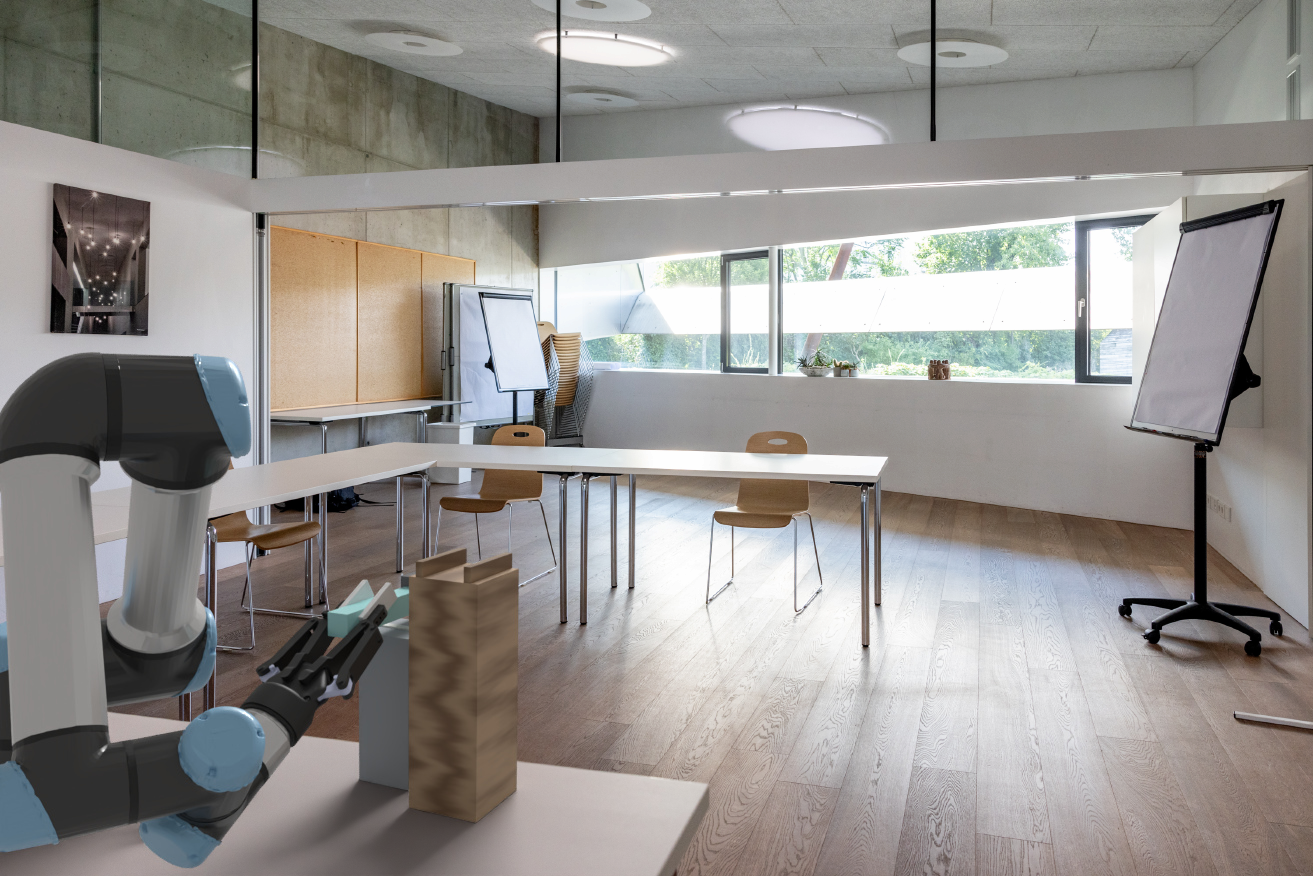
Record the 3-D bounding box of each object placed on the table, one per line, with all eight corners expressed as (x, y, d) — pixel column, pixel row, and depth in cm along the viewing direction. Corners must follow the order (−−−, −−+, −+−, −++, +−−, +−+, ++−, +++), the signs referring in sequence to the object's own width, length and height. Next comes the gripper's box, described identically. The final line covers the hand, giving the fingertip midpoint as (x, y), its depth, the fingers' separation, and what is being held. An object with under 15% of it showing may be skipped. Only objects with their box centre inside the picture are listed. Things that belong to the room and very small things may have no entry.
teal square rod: (323, 635, 117) (323, 600, 116) (419, 600, 135) (419, 570, 135) (352, 639, 115) (351, 604, 115) (445, 603, 134) (445, 572, 133)
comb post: (408, 807, 120) (409, 560, 117) (453, 776, 129) (454, 547, 127) (476, 822, 116) (477, 568, 114) (516, 789, 125) (518, 553, 123)
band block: (359, 779, 127) (358, 630, 126) (395, 757, 135) (395, 616, 133) (408, 790, 125) (408, 637, 123) (442, 767, 132) (443, 622, 130)
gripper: (223, 740, 110) (340, 603, 128) (334, 763, 104) (440, 616, 122) (196, 696, 106) (321, 561, 124) (309, 717, 100) (423, 572, 118)
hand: (379, 589), depth 123 cm, fingers closed on teal square rod, 3 cm apart
